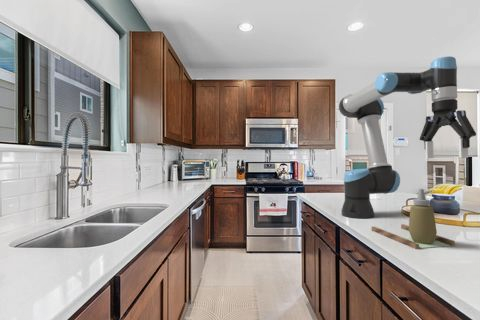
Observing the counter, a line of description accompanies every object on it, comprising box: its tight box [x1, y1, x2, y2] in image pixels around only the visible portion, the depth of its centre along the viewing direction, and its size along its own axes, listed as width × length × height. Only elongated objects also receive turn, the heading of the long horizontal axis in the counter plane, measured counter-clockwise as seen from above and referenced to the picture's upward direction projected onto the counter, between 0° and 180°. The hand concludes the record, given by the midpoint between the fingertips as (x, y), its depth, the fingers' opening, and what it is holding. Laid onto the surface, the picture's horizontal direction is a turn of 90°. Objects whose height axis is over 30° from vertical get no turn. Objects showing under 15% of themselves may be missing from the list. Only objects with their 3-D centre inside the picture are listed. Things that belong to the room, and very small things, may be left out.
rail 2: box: [400, 224, 456, 247], centre depth 96 cm, size 22×1×2 cm, turn 8°
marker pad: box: [404, 236, 451, 249], centre depth 89 cm, size 10×11×1 cm
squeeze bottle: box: [408, 188, 438, 244], centre depth 89 cm, size 8×8×18 cm
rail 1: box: [371, 226, 420, 250], centre depth 94 cm, size 22×1×2 cm, turn 8°
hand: (445, 157), depth 96 cm, fingers open, 13 cm apart
